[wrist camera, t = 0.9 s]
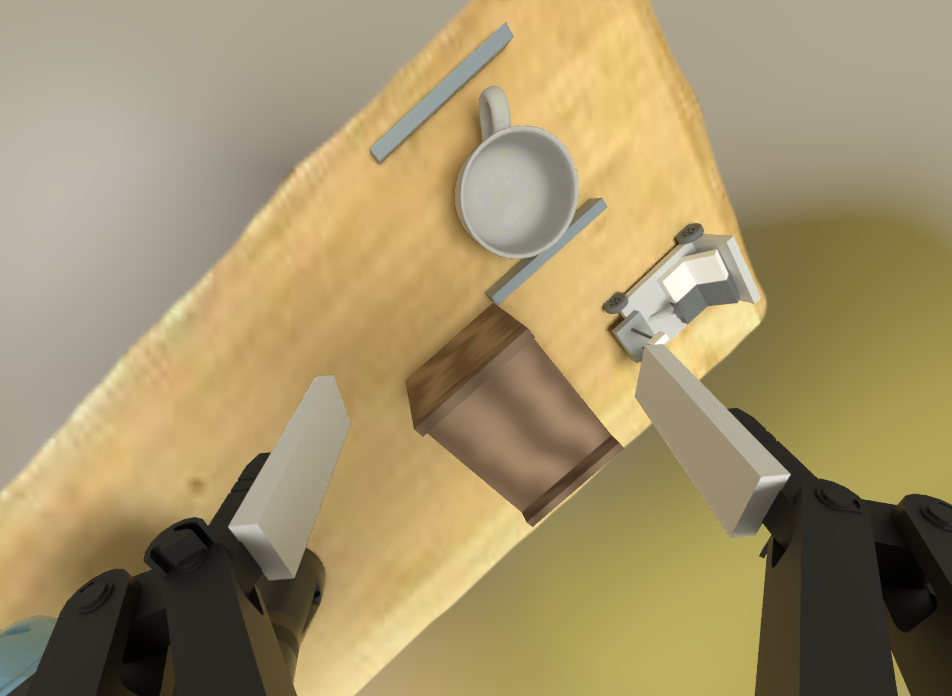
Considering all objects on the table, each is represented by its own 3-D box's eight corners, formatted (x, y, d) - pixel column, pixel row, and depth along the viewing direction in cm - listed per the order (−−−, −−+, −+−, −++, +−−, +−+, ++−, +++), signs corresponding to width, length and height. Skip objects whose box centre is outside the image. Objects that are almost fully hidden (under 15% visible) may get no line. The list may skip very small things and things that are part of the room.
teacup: (543, 244, 41) (579, 250, 34) (452, 258, 39) (470, 268, 31) (538, 102, 36) (579, 73, 28) (432, 109, 33) (447, 79, 26)
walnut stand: (503, 468, 51) (532, 527, 41) (405, 381, 42) (414, 429, 33) (576, 404, 50) (624, 448, 41) (493, 302, 42) (527, 328, 32)
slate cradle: (491, 300, 41) (497, 305, 39) (370, 153, 33) (369, 148, 31) (594, 207, 41) (607, 207, 39) (496, 35, 33) (505, 22, 30)
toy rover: (677, 407, 42) (633, 345, 37) (625, 373, 51) (583, 320, 46) (793, 302, 41) (763, 224, 36) (719, 286, 50) (687, 222, 45)
